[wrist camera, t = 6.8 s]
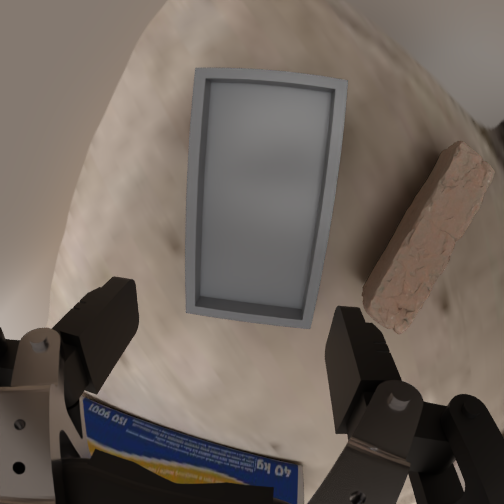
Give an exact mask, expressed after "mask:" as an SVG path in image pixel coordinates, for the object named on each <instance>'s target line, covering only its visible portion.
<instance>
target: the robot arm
mask: <svg viewBox="0 0 504 504" xmlns="http://www.w3.org/2000/svg"><path fill="white" fill-rule="evenodd" d="M138 325H139V312H138V303H137V293H136V284H135V281H134V280H133V279H127V278H121V277H115V276H114V277H112V278H111V279H110V280H109V281H108V282H107V283H106V284H105V285H104V286H103V287H102V288H100V287H99V288H97V289H95V290H93V291H91V292H89V293H87V294H86V295H85V296H84V297H83V298H82V299H81V300H80V303H79V302H78V303H77V304H76V305H75V306H74V307H73V309H71V310H70V311H69V312H68V313H67V314H66V315H65V316H64V317H63V318H62V319H61V320H60V321H59V322H58V323H57V324H56V325H55V326H54V327H53V328H52V329H50V328H37V329H34V330H31V331H29V332H28V333H26V334H25V335H24V336H23V337H22V338H21V340H9V339H5V337H4V334H3V332H2V329H1V328H0V504H291V503H288V502H285V501H283V500H280V499H276V498H273V494H274V487H266V486H254V485H244V484H236V483H228V482H224V483H201V484H179V483H174V482H172V481H170V480H168V479H165V478H163V477H161V476H159V475H158V474H156V473H154V472H152V471H150V470H148V469H146V468H144V467H142V466H141V465H139V464H137V463H135V462H133V461H130V460H126V459H123V458H120V457H117V456H114V455H111V454H109V453H106V452H103V451H100V450H98V449H95V450H94V452H93V454H92V456H91V454H90V451H89V447H88V442H87V435H86V427H85V418H84V408H83V400H82V398H81V395H82V393H83V392H84V390H85V391H88V392H91V393H94V394H98V392H99V390H100V389H101V387H102V385H103V384H104V382H105V381H106V379H107V377H108V376H109V374H110V373H111V371H112V369H113V368H114V366H115V365H116V363H117V361H118V360H119V358H120V357H121V355H122V354H123V352H124V351H125V349H126V347H127V346H128V344H129V343H130V341H131V340H132V338H133V337H134V335H135V334H136V332H137V329H138ZM325 362H326V369H327V375H328V382H329V389H330V396H331V403H332V410H333V417H334V425H335V433H336V434H347V435H348V443H347V444H346V446H345V448H344V449H343V451H342V453H341V454H340V456H339V458H338V459H337V461H336V462H335V464H334V465H333V467H332V469H331V470H330V472H329V473H328V475H327V476H326V478H325V479H324V481H323V482H322V484H321V485H320V487H319V488H318V490H317V491H316V492H315V494H314V495H313V497H312V498H311V499H310V501H309V502H308V503H307V504H396V502H397V500H398V497H399V495H400V493H401V490H402V488H403V485H404V483H405V480H406V478H407V475H408V474H409V478H410V481H411V484H412V488H413V491H414V495H415V499H416V502H417V504H504V438H503V436H502V434H501V432H500V431H499V429H498V427H497V425H496V423H495V422H494V420H493V418H492V416H491V415H490V413H489V411H488V409H487V408H486V406H485V405H484V404H483V403H482V402H481V401H480V400H479V399H477V398H476V397H474V396H471V395H467V394H460V395H457V396H455V397H454V398H453V399H452V400H451V401H450V403H449V404H448V406H443V405H438V404H433V403H428V402H424V401H423V398H422V396H421V394H420V392H419V391H418V390H417V389H416V388H415V387H414V386H412V385H410V384H409V383H406V382H404V381H402V380H401V377H400V375H399V372H398V370H397V367H396V365H395V362H394V360H393V358H392V355H391V353H389V348H388V346H387V344H386V341H385V339H384V337H383V334H382V332H381V331H380V330H379V329H378V328H377V327H376V326H375V325H374V324H373V323H366V322H365V320H364V317H363V315H362V312H361V310H360V308H358V307H347V306H337V308H336V310H335V313H334V317H333V321H332V324H331V328H330V332H329V335H328V339H327V343H326V348H325ZM455 460H456V461H457V463H458V466H459V468H460V470H461V473H462V476H463V478H464V481H465V492H464V491H463V488H462V486H461V483H460V480H459V478H458V475H457V472H456V470H455V467H454V465H453V462H454V461H455Z"/></svg>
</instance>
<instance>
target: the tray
mask: <svg viewBox="0 0 504 504" xmlns="http://www.w3.org/2000/svg"><path fill="white" fill-rule="evenodd" d="M347 87H348V80H343V79H337V78H332V77H325V76H319V75H312V74H304V73H296V72H286V71H276V70H263V69H246V68H195V77H194V87H193V98H192V109H191V122H190V136H189V152H188V171H187V196H186V238H185V288H186V313H190V314H196V315H202V316H209V317H215V318H222V319H229V320H236V321H244V322H251V323H259V324H267V325H276V326H285V327H294V328H303V329H310V328H311V323H312V319H313V314H314V310H315V305H316V300H317V295H318V291H319V286H320V281H321V275H322V270H323V265H324V260H325V254H326V249H327V243H328V237H329V231H330V225H331V219H332V213H333V206H334V200H335V193H336V186H337V179H338V172H339V164H340V156H341V148H342V139H343V130H344V120H345V110H346V99H347Z"/></svg>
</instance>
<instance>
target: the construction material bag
mask: <svg viewBox="0 0 504 504" xmlns="http://www.w3.org/2000/svg"><path fill="white" fill-rule="evenodd" d="M81 398H82V400H83V408H84V418H85V427H86V435H87V442H88V447H89V451H90V454H91V456H92V454H93V452H94V450H95V449H98V450H100V451H103V452H106V453H109V454H111V455H114V456H117V457H120V458H123V459H126V460H130V461H133V462H135V463H137V464H139V465H141V466H142V467H144V468H146V469H148V470H150V471H152V472H154V473H156V474H158V475H159V476H161V477H163V478H165V479H168V480H170V481H172V482H174V483H179V484H201V483H224V482H228V483H236V484H244V485H254V486H266V487H274V494H273V498H276V499H280V500H283V501H285V502H288V503H291V504H304V478H303V469H302V465H296V464H292V463H287V462H283V461H278V460H274V459H270V458H266V457H261V456H258V455H254V454H250V453H246V452H242V451H239V450H235V449H232V448H228V447H225V446H221V445H218V444H214V443H211V442H208V441H205V440H201V439H198V438H195V437H192V436H189V435H185V434H182V433H179V432H176V431H173V430H170V429H167V428H164V427H161V426H158V425H155V424H152V423H149V422H146V421H144V420H141V419H138V418H135V417H132V416H130V415H127V414H124V413H122V412H119V411H117V410H114V409H111V408H109V407H106V406H104V405H102V404H99V403H97V402H95V401H92V400H90V399H87V398H85V397H83V396H81Z"/></svg>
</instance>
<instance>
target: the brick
mask: <svg viewBox="0 0 504 504" xmlns="http://www.w3.org/2000/svg"><path fill="white" fill-rule="evenodd" d="M494 174H495V171H494V170H493V169H492V167H491V166H490V165H489V164H488V163H487V162H485V161H483V159H482V157H481V156H480V155H479V154H478V153H476V152H475V151H473V150H472V149H471V148H470V147H469V146H468V145H467V144H466V143H464V142H463V141H457V142H455V143H454V144H453V145H451V146H450V147H449V148H448V149H446V150H444V151H442V152H441V154H440V156H439V158H438V161H437V163H436V165H435V166H434V168H433V170H432V172H431V174H430V175H429V177H428V179H427V181H426V182H425V183H424V185H423V186H422V188H421V189H420V191H419V192H418V194H417V195H416V196H415V198H414V200H413V202H412V203H411V206H410V207H409V208H408V209H407V211H406V213H405V215H404V217H403V218H402V220H401V222H400V223H399V225H398V227H397V229H396V231H395V233H394V235H393V237H392V238H391V240H390V242H389V244H388V246H387V248H386V250H385V251H384V252H383V254H382V255H381V257H380V259H379V260H378V261H377V264H376V265H375V267H374V269H373V271H372V273H371V274H370V276H369V278H368V279H367V281H366V283H365V285H364V286H363V292H362V296H363V305H364V308H365V310H366V312H367V313H368V314H369V315H370V316H371V317H372V318H373V319H374V320H375V321H376V322H378V323H380V324H381V325H382V326H384V327H385V328H387V329H391V328H392V329H393V330H394V331H395V332H396V333H397V334H401V333H403V332H404V331H405V330H406V329H407V328H408V327H409V326H410V324H411V323H412V321H413V320H414V318H415V316H416V315H417V313H418V312H419V310H420V309H421V308H422V306H423V303H424V301H425V300H426V299H427V298H428V297H429V295H430V291H431V290H432V287H433V284H434V283H435V282H436V280H437V278H438V276H440V275H441V274H442V272H443V270H444V269H445V268H446V266H447V264H448V262H449V260H450V255H451V253H452V252H453V249H454V246H455V242H456V241H457V240H458V239H460V238H461V237H462V236H463V234H464V232H465V231H466V229H467V227H468V226H469V225H470V223H471V222H472V220H473V218H474V215H475V213H476V212H477V211H478V210H479V208H480V206H481V203H482V201H483V196H484V194H485V192H486V190H487V188H488V186H489V185H490V184H491V182H492V179H493V177H494Z"/></svg>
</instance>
